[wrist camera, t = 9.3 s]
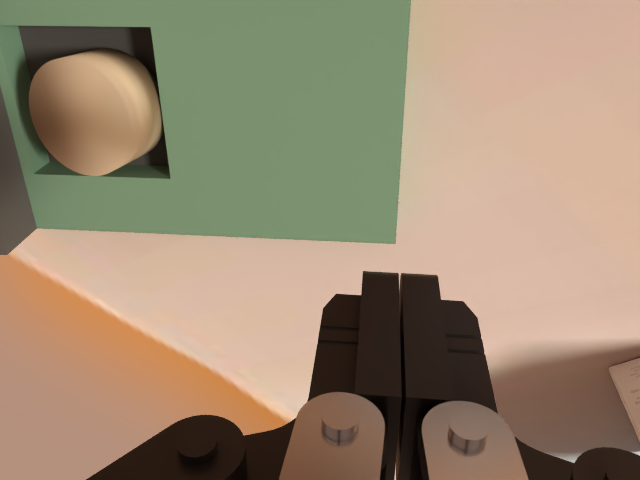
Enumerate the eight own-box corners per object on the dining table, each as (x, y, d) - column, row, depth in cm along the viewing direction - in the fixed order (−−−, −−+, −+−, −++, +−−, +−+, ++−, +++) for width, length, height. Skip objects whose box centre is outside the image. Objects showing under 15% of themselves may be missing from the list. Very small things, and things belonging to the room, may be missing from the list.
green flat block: (-33, -54, 29) (-109, -49, 24) (412, -54, 27) (416, -49, 22) (34, 211, 35) (-16, 253, 31) (395, 226, 33) (396, 273, 29)
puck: (60, 47, 30) (15, 57, 28) (156, 48, 29) (117, 58, 26) (84, 153, 33) (44, 171, 30) (173, 160, 31) (139, 180, 28)
